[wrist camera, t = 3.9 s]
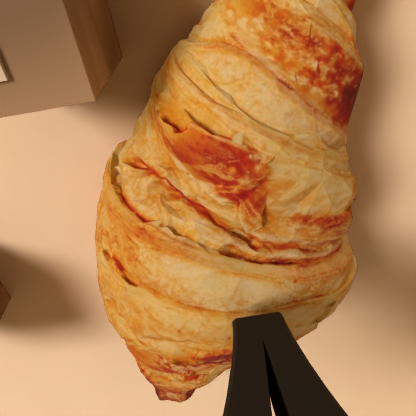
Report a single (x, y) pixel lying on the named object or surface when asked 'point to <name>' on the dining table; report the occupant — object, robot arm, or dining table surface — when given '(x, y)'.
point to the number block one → (54, 53)
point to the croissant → (233, 188)
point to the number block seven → (3, 299)
